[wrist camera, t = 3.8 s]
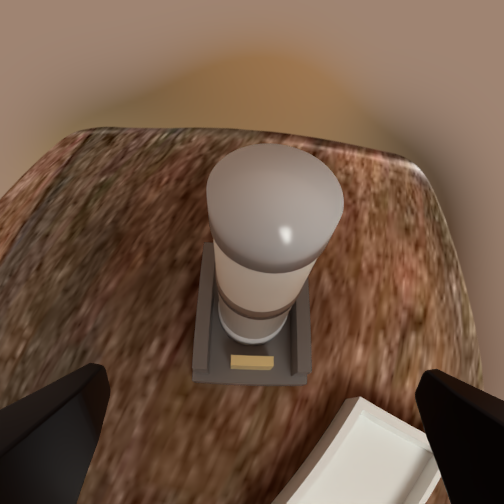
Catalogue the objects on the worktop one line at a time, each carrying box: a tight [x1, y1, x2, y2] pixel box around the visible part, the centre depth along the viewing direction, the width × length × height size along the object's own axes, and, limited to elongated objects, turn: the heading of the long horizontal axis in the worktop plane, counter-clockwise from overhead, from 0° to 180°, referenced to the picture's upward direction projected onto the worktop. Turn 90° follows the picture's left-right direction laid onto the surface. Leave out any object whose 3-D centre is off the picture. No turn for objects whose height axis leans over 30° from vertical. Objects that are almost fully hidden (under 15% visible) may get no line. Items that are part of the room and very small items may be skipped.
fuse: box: [206, 144, 344, 346], centre depth 14 cm, size 4×4×12 cm
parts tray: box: [271, 397, 441, 504], centre depth 13 cm, size 12×9×2 cm
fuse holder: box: [192, 242, 312, 386], centre depth 19 cm, size 9×7×3 cm
